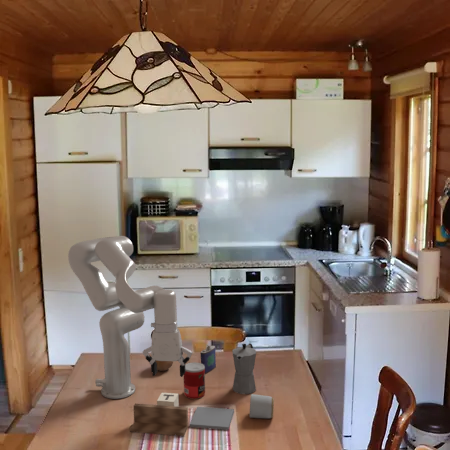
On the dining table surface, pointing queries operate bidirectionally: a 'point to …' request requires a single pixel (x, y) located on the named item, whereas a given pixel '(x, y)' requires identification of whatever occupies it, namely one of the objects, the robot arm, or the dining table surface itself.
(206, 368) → the flask
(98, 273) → the robot arm
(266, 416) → the ceramic mug
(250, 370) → the coffeepot
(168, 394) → the marked cube
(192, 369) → the canned food
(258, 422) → the dining table surface
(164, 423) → the walnut screen
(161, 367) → the onion
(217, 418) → the slate mat
